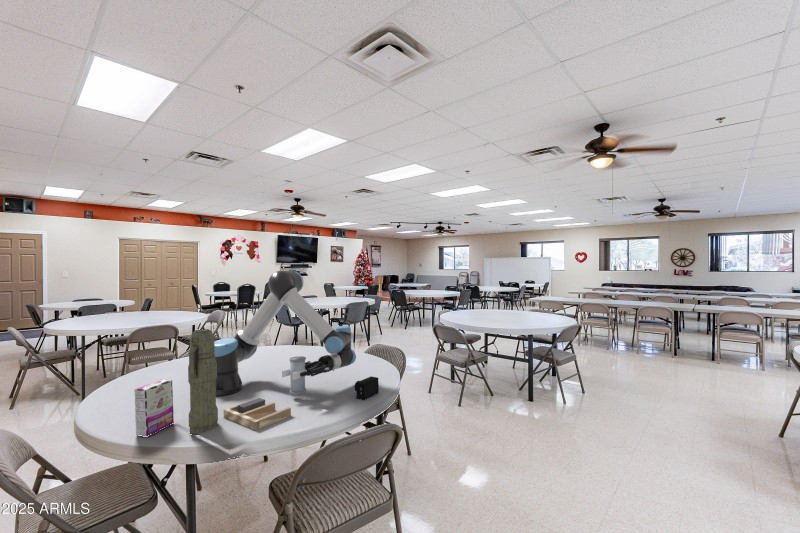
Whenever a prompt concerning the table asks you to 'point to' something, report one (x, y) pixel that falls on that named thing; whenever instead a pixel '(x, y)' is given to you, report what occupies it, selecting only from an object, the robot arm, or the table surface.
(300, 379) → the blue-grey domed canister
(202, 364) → the thermos
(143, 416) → the candy bar box
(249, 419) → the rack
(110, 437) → the table surface
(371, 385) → the digital camera
